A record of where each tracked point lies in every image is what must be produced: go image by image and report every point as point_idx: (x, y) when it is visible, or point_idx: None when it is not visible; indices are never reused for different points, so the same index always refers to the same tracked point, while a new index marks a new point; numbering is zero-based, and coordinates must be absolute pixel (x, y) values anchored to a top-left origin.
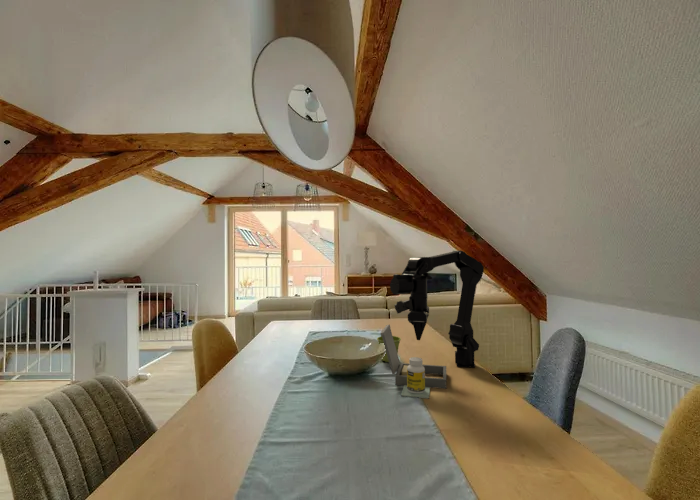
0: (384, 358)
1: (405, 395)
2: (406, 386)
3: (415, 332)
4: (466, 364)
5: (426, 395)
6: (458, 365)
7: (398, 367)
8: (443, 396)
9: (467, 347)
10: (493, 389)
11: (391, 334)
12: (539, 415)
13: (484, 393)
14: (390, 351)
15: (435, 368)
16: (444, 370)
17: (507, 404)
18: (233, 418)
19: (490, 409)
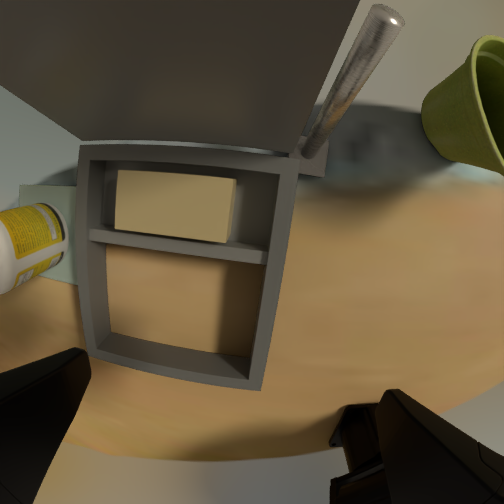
0: (430, 92)
1: (19, 198)
2: (73, 196)
3: (1, 378)
4: (341, 433)
5: None
6: (346, 412)
7: (300, 149)
8: (49, 314)
9: (330, 491)
10: (144, 440)
11: (306, 1)
12: None
13: (108, 415)
14: (54, 87)
15: (253, 344)
16: (193, 376)
17: (72, 424)
18: None
19: None
